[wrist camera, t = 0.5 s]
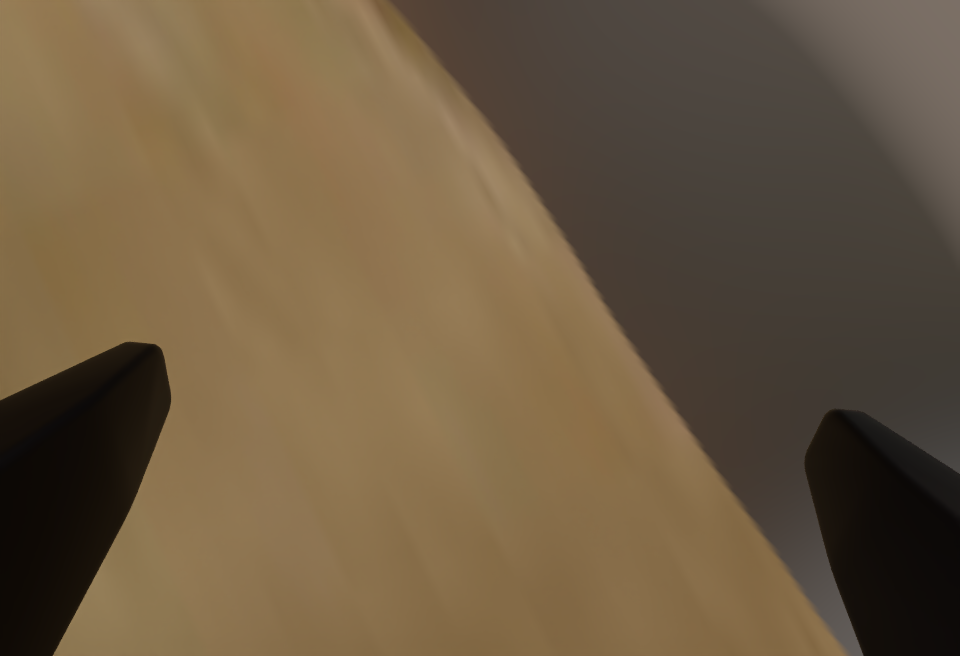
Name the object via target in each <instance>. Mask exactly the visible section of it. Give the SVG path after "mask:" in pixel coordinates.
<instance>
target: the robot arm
mask: <svg viewBox="0 0 960 656" xmlns="http://www.w3.org/2000/svg"><path fill="white" fill-rule="evenodd" d="M170 404H171V391H170V386H169V381H168V375H167V370H166V365H165V360H164V355H163V352H162V350H161V348H160V347H159V346H157V345H156V344H148V343H138V342H125V343H122V344H120V345H118V346H116V347H114V348H112V349H109V350H107V351H105V352H103V353H101V354H99V355H97V356H94V357H92V358H90V359H88V360H86V361H84V362H82V363H79V364H77V365H75V366H73V367H71V368H69V369H67V370H64V371H62V372H60V373H58V374H56V375H54V376H52V377H49V378H47V379H45V380H43V381H41V382H39V383H37V384H34V385H32V386H30V387H28V388H26V389H24V390H22V391H20V392H17V393H15V394H13V395H11V396H9V397H7V398H5V399H2V400H0V656H53V654H54V652H55V651H56V649H57V647H58V645H59V643H60V641H61V639H62V637H63V635H64V634H65V632H66V630H67V628H68V626H69V624H70V622H71V620H72V619H73V617H74V615H75V613H76V611H77V609H78V607H79V605H80V604H81V602H82V600H83V598H84V596H85V594H86V592H87V590H88V589H89V587H90V585H91V583H92V581H93V579H94V577H95V575H96V573H97V572H98V570H99V568H100V566H101V564H102V562H103V560H104V558H105V557H106V555H107V553H108V551H109V549H110V547H111V545H112V543H113V542H114V540H115V538H116V536H117V534H118V532H119V530H120V528H121V526H122V525H123V523H124V521H125V519H126V517H127V515H128V513H129V510H130V508H131V506H132V504H133V501H134V499H135V497H136V494H137V492H138V489H139V487H140V484H141V482H142V479H143V476H144V474H145V471H146V469H147V466H148V464H149V461H150V458H151V456H152V453H153V451H154V448H155V446H156V443H157V441H158V438H159V435H160V433H161V430H162V428H163V425H164V423H165V420H166V417H167V415H168V412H169V409H170ZM804 463H805V472H806V476H807V480H808V484H809V487H810V491H811V495H812V499H813V503H814V506H815V510H816V514H817V518H818V522H819V526H820V530H821V534H822V537H823V541H824V545H825V549H826V553H827V556H828V559H829V563H830V566H831V570H832V572H833V575H834V578H835V581H836V584H837V587H838V589H839V592H840V595H841V597H842V600H843V602H844V605H845V608H846V610H847V613H848V616H849V618H850V621H851V623H852V626H853V629H854V631H855V634H856V637H857V640H858V642H859V645H860V647H861V650H862V653H863V655H864V656H960V474H959V473H957V472H956V471H954V470H953V469H951V468H950V467H948V466H946V465H945V464H944V463H942V462H940V461H939V460H937V459H936V458H934V457H933V456H931V455H929V454H928V453H926V452H925V451H923V450H922V449H920V448H919V447H917V446H916V445H914V444H912V443H911V442H909V441H908V440H906V439H905V438H903V437H902V436H900V435H898V434H897V433H895V432H894V431H892V430H891V429H889V428H888V427H886V426H884V425H883V424H881V423H880V422H878V421H877V420H875V419H873V418H872V417H870V416H869V415H867V414H866V413H864V412H861V411H855V410H844V409H832V410H830V411H828V412H827V413H826V414H825V415H824V417H823V419H822V421H821V423H820V425H819V427H818V429H817V431H816V433H815V435H814V437H813V439H812V441H811V444H810V445H809V447H808V449H807V452H806V455H805V462H804Z"/></svg>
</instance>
